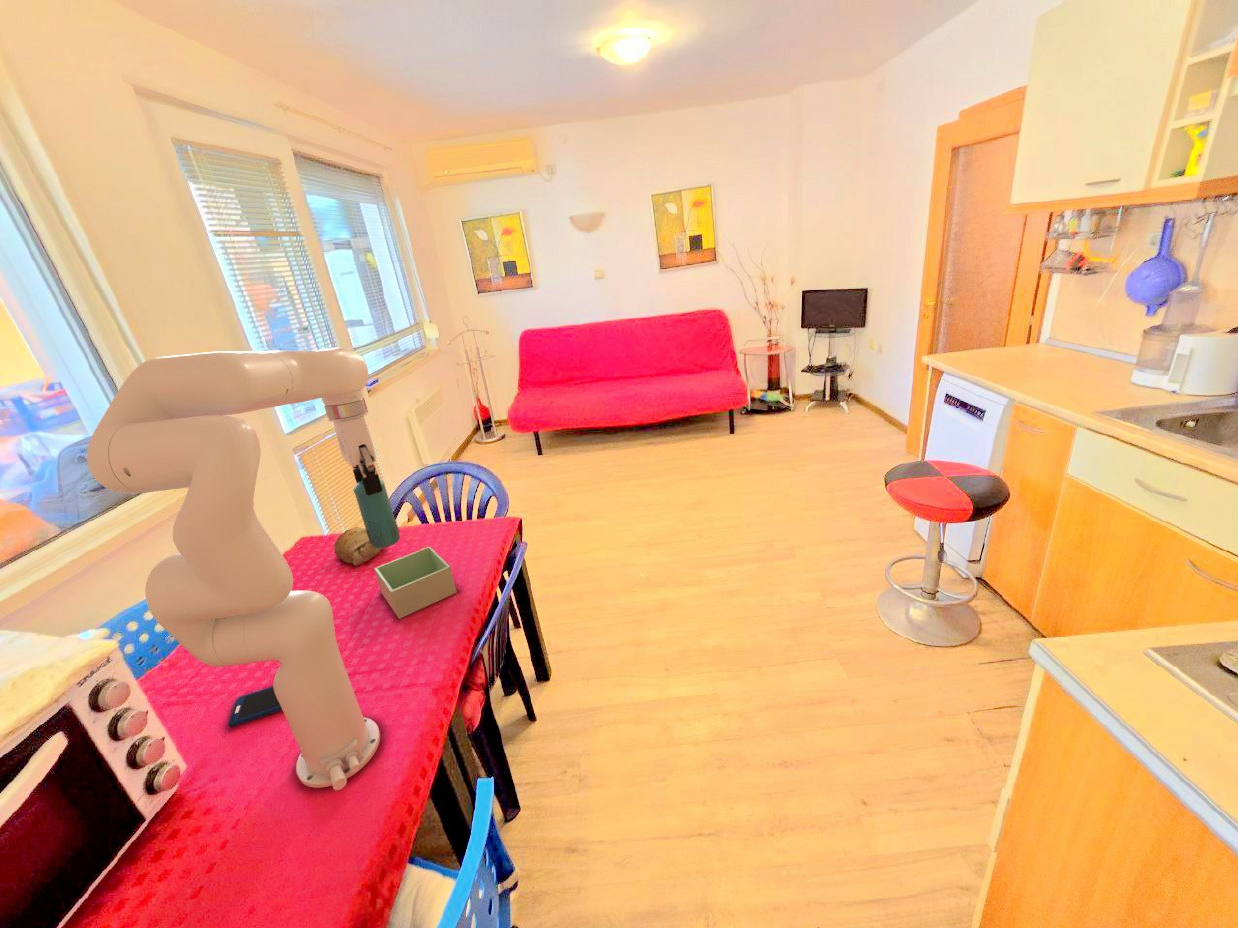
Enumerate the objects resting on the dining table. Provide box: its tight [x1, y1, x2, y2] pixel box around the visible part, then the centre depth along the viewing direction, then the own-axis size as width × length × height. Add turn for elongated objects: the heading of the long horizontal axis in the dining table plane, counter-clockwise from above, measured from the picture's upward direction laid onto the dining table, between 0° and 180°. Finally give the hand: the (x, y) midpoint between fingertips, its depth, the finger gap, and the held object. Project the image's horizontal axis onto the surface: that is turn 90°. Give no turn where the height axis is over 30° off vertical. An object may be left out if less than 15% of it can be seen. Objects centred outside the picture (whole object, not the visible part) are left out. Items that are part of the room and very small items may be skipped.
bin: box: [374, 546, 457, 620], centre depth 126 cm, size 14×14×8 cm
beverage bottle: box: [352, 466, 401, 549], centre depth 112 cm, size 6×7×20 cm
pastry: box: [333, 526, 382, 567], centre depth 147 cm, size 14×12×8 cm
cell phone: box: [227, 685, 283, 728], centre depth 97 cm, size 7×14×1 cm, turn 114°
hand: (369, 487), depth 110 cm, fingers closed on beverage bottle, 6 cm apart
